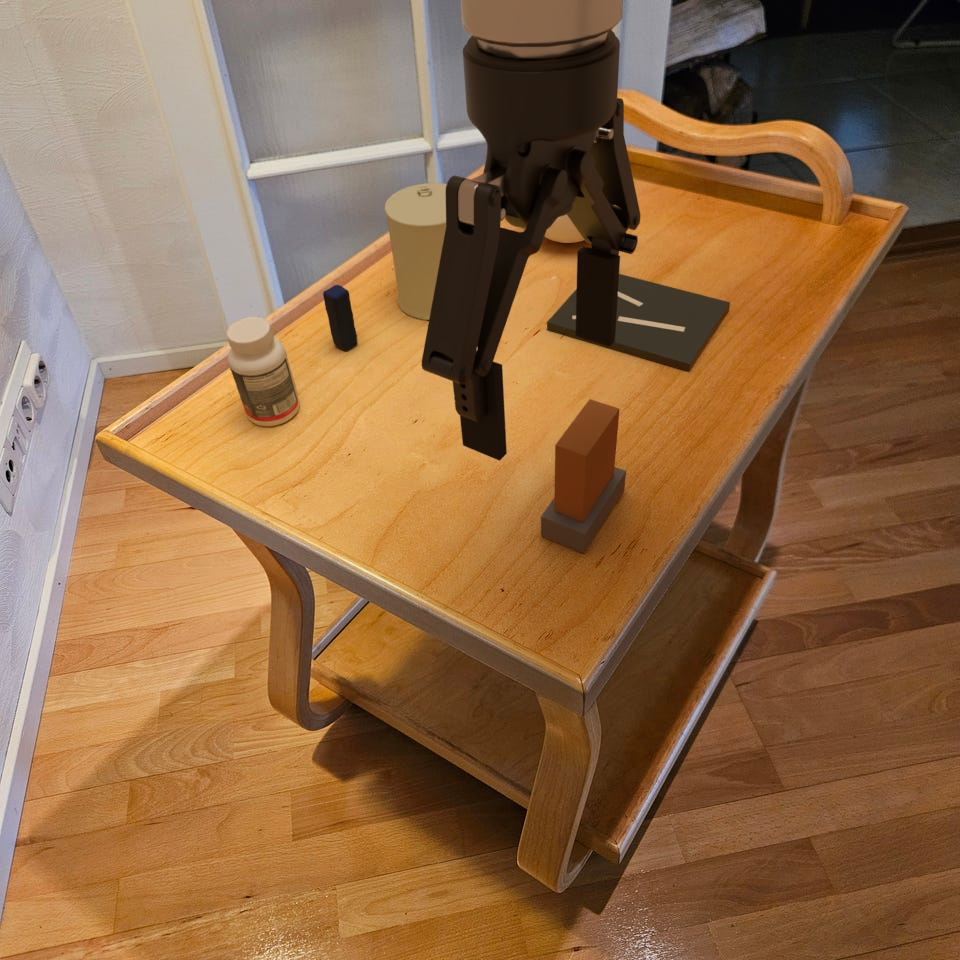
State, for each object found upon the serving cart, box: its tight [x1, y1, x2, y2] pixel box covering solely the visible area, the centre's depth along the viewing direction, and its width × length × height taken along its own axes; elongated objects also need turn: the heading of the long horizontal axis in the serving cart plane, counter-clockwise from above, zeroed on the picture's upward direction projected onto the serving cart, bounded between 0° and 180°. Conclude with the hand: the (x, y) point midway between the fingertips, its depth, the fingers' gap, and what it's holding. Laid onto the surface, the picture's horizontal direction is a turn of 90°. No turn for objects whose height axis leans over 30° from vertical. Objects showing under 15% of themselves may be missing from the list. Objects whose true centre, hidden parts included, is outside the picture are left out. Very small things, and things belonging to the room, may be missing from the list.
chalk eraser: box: [540, 398, 627, 555], centre depth 67 cm, size 4×8×10 cm, turn 149°
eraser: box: [322, 284, 358, 352], centre depth 87 cm, size 2×2×7 cm
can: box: [384, 182, 447, 321], centre depth 90 cm, size 9×9×12 cm
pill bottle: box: [226, 316, 301, 427], centre depth 79 cm, size 5×5×10 cm
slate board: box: [546, 273, 731, 372], centre depth 89 cm, size 16×12×1 cm
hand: (543, 390), depth 54 cm, fingers open, 13 cm apart
